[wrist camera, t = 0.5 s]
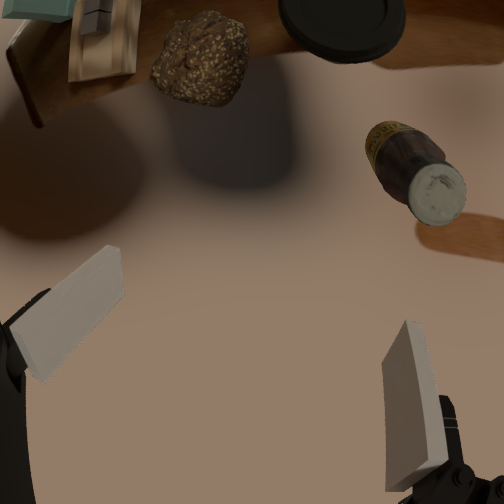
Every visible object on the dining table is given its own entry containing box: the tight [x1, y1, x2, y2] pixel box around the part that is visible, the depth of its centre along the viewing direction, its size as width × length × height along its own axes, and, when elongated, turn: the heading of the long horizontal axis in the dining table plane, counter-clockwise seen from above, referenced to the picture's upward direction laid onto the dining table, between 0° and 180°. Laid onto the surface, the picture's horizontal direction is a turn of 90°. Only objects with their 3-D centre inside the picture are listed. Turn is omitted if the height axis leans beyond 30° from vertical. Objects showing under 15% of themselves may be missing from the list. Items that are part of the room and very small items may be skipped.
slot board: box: [68, 0, 142, 82], centre depth 30 cm, size 22×10×4 cm, turn 176°
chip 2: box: [80, 11, 112, 37], centre depth 29 cm, size 3×3×3 cm
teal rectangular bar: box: [2, 0, 77, 23], centre depth 26 cm, size 4×4×13 cm
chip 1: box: [83, 0, 114, 15], centre depth 28 cm, size 3×3×3 cm
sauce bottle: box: [365, 121, 466, 226], centre depth 24 cm, size 7×6×20 cm
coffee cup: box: [278, 0, 406, 64], centre depth 22 cm, size 10×10×15 cm
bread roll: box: [151, 10, 249, 107], centre depth 31 cm, size 13×12×5 cm
